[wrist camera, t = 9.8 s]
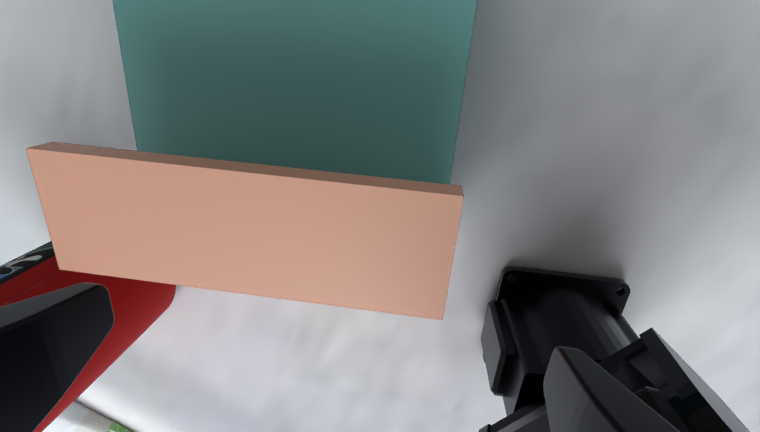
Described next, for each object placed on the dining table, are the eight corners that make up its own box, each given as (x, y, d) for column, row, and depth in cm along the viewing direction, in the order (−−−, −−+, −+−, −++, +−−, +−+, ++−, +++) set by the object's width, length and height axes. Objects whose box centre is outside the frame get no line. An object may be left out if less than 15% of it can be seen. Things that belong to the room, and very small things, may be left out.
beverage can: (83, 196, 22) (-250, 333, 11) (194, 242, 23) (-25, 418, 12) (73, 287, 25) (-204, 469, 14) (173, 327, 25) (-21, 535, 14)
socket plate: (500, -204, 14) (579, -485, 7) (437, 225, 21) (442, 320, 13) (132, -217, 15) (-147, -474, 8) (183, 196, 22) (59, 269, 14)
